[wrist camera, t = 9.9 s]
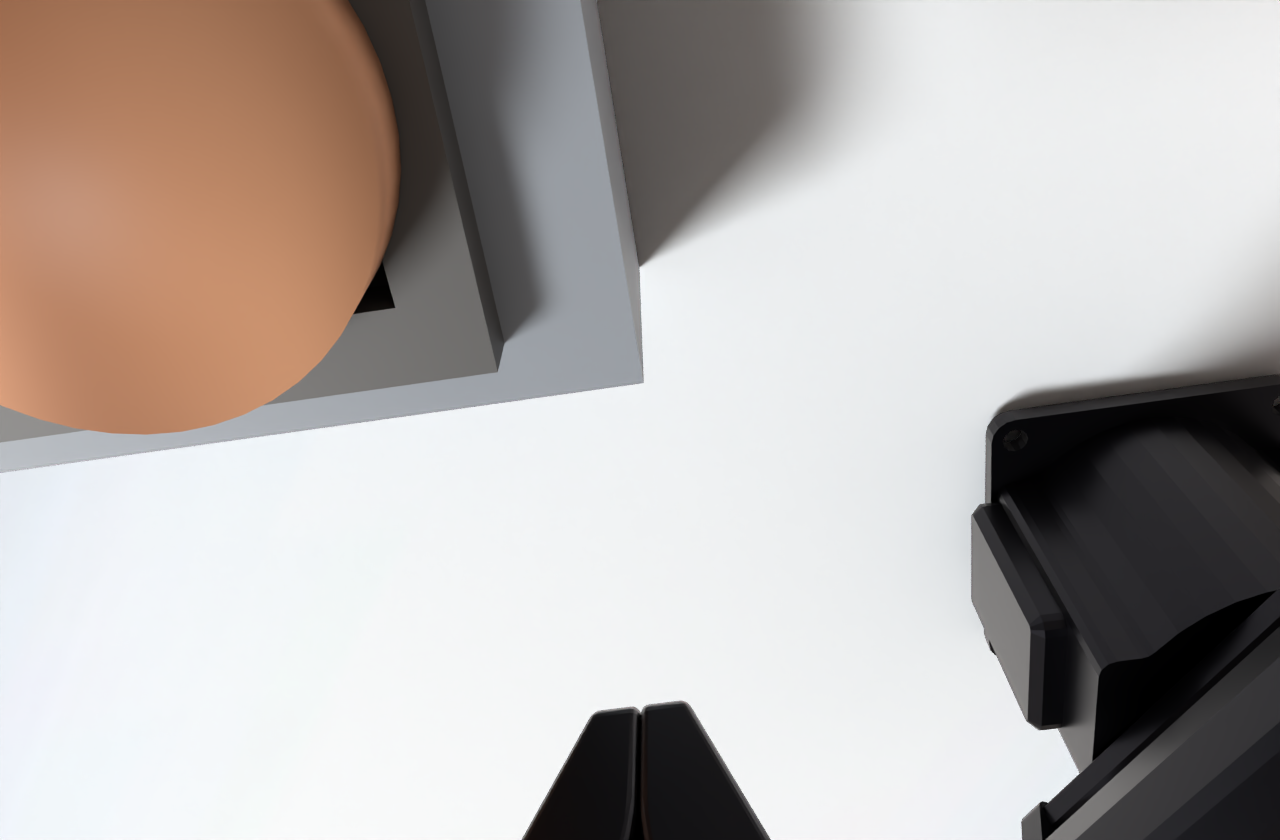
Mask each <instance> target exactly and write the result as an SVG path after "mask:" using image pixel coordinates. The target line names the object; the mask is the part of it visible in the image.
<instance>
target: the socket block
mask: <svg viewBox="0 0 1280 840" xmlns="http://www.w3.org/2000/svg"><path fill="white" fill-rule="evenodd" d="M348 1H349V3H350V4H351V6H352V8H353V9H354V11H355V12H356V14H357V16H358V17H359V19H360V21H361V22H362V24H363V26H364V28H365V30H366V32H367V34H368V36H369V39H370V41H371V43H372V45H373V47H374V50H375V52H376V54H377V56H378V58H379V60H380V63H381V66H382V69H383V72H384V75H385V78H386V81H387V84H388V88H389V91H390V94H391V97H392V101H393V106H394V111H395V117H396V122H397V127H398V132H399V143H400V160H401V178H400V192H399V204H398V209H397V213H396V218H395V223H394V227H393V232H392V236H391V238H390V241H389V244H388V246H387V249H386V252H385V254H384V257H383V260H382V262H381V265H380V267H379V268H378V270H377V272H376V274H375V276H374V277H373V279H372V281H371V283H370V285H369V286H368V288H367V290H366V292H365V294H364V295H363V297H362V299H361V301H360V302H359V304H358V306H357V308H356V310H355V311H354V313H353V315H352V317H351V318H350V320H349V322H348V324H347V326H346V327H345V329H344V331H343V333H342V334H341V336H340V337H339V339H338V340H337V341H336V342H335V344H334V345H333V346H332V348H331V349H330V350H329V351H328V353H327V354H326V355H325V357H324V358H323V359H322V360H321V361H320V362H319V363H318V364H317V365H316V366H315V367H314V368H313V369H312V370H311V371H310V372H309V373H308V374H307V375H306V376H305V377H304V378H302V379H301V380H300V381H299V382H298V383H297V384H295V385H294V386H292V387H291V388H290V389H288V390H287V391H285V392H284V393H282V394H281V395H280V396H278V397H277V398H275V399H274V400H272V401H270V402H268V403H266V404H264V405H262V406H260V407H258V408H256V409H254V410H252V411H250V412H248V413H246V414H244V415H242V416H239V417H236V418H233V419H230V420H227V421H224V422H221V423H218V424H215V425H212V426H207V427H202V428H197V429H193V430H188V431H183V432H174V433H161V434H149V435H141V434H112V433H105V432H98V431H91V430H84V429H77V428H72V427H68V426H64V425H60V424H56V423H52V422H48V421H44V420H40V419H37V418H34V417H31V416H29V415H26V414H23V413H20V412H18V411H15V410H12V409H9V408H6V407H4V406H1V405H0V473H3V472H10V471H17V470H24V469H31V468H39V467H46V466H53V465H60V464H67V463H74V462H81V461H89V460H96V459H103V458H110V457H117V456H124V455H132V454H139V453H146V452H153V451H160V450H167V449H175V448H182V447H189V446H196V445H203V444H210V443H217V442H225V441H232V440H239V439H246V438H253V437H260V436H268V435H275V434H282V433H289V432H296V431H303V430H311V429H318V428H325V427H332V426H339V425H346V424H353V423H361V422H368V421H375V420H382V419H389V418H396V417H404V416H411V415H418V414H425V413H432V412H439V411H447V410H454V409H461V408H468V407H475V406H482V405H489V404H497V403H504V402H511V401H518V400H525V399H532V398H540V397H547V396H554V395H561V394H568V393H575V392H583V391H590V390H597V389H604V388H611V387H618V386H625V385H633V384H640V383H644V380H643V353H642V326H641V299H640V272H639V263H638V257H637V251H636V244H635V238H634V232H633V225H632V219H631V213H630V206H629V200H628V194H627V188H626V181H625V175H624V169H623V162H622V156H621V150H620V143H619V137H618V131H617V125H616V118H615V112H614V106H613V99H612V93H611V87H610V80H609V74H608V68H607V61H606V55H605V49H604V43H603V36H602V30H601V24H600V17H599V11H598V5H597V0H348Z"/></svg>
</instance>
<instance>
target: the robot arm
mask: <svg viewBox="0 0 1280 840" xmlns="http://www.w3.org/2000/svg"><path fill="white" fill-rule="evenodd" d="M1279 396H1280V375H1270V376H1263V377H1255V378H1248V379H1241V380H1233V381H1226V382H1218V383H1211V384H1204V385H1196V386H1189V387H1181V388H1174V389H1167V390H1159V391H1152V392H1145V393H1137V394H1130V395H1122V396H1115V397H1108V398H1100V399H1093V400H1085V401H1078V402H1071V403H1063V404H1056V405H1048V406H1041V407H1034V408H1026V409H1019V410H1012V411H1007V412H1004V413H1001V414H999V415H998V416H996V417H995V418H994V419H993V420H992V421H991V422H990V424H989V425H988V427H987V431H986V467H985V504H980V505H979V506H978V507H977V509H976V510H975V511H974V513H973V514H972V516H971V598H972V603H973V605H974V607H975V609H976V612H977V614H978V616H979V618H980V620H981V623H982V625H983V627H984V635H985V638H986V641H987V643H988V645H989V648H990V650H991V651H992V652H993V653H994V654H995V655H996V656H997V658H998V660H999V662H1000V664H1001V667H1002V669H1003V671H1004V673H1005V675H1006V678H1007V680H1008V682H1009V684H1010V686H1011V689H1012V691H1013V693H1014V695H1015V697H1016V700H1017V702H1018V704H1019V706H1020V708H1021V711H1022V713H1023V715H1024V717H1025V719H1026V721H1027V722H1028V723H1030V724H1031V725H1032V726H1033V727H1035V728H1036V729H1037V730H1047V729H1056V728H1058V730H1059V732H1060V734H1061V736H1062V738H1063V740H1064V742H1065V744H1066V746H1067V748H1068V750H1069V752H1070V755H1071V757H1072V759H1073V761H1074V763H1075V765H1076V767H1077V769H1078V771H1079V773H1080V774H1079V775H1078V776H1077V777H1076V778H1074V779H1073V780H1072V781H1071V782H1070V783H1069V784H1068V785H1067V786H1066V787H1065V788H1064V789H1063V790H1062V791H1061V792H1059V793H1058V794H1057V795H1056V796H1055V797H1054V798H1053V799H1052V800H1051V801H1050V802H1049V803H1047V802H1043V801H1042V802H1040V803H1039V804H1038V805H1037V806H1036V807H1035V808H1034V809H1032V810H1031V811H1030V812H1029V813H1028V814H1027V815H1026V816H1025V817H1024V818H1023V819H1022V822H1021V824H1022V840H1280V404H1278V405H1275V406H1272V404H1273V402H1274V400H1275V399H1277V398H1278V397H1279ZM1014 430H1021V433H1020V435H1019V436H1018V437H1017V438H1016V439H1015V440H1012V441H1010V442H1008V441H1004V437H1005V436H1006V435H1007V434H1008V433H1009V432H1011V431H1014ZM522 840H771V839H770V838H769V836H768V834H767V833H766V831H765V829H764V828H763V826H762V824H761V823H760V821H759V819H758V818H757V816H756V814H755V813H754V811H753V809H752V808H751V806H750V804H749V803H748V801H747V799H746V798H745V796H744V794H743V793H742V791H741V789H740V788H739V786H738V784H737V783H736V781H735V779H734V778H733V776H732V774H731V773H730V771H729V769H728V768H727V766H726V764H725V763H724V761H723V759H722V758H721V756H720V754H719V753H718V751H717V749H716V748H715V746H714V744H713V743H712V741H711V739H710V738H709V736H708V734H707V733H706V731H705V729H704V728H703V726H702V724H701V723H700V721H699V719H698V718H697V716H696V714H695V713H694V711H693V709H692V708H691V706H690V705H689V704H688V703H687V702H685V701H674V702H666V703H658V704H649V705H646V706H645V707H644V708H643V709H642V712H640V711H639V710H638V709H637V708H635V707H625V708H617V709H609V710H601V711H597V712H595V713H594V714H593V715H592V716H591V717H590V719H589V720H588V722H587V724H586V726H585V728H584V729H583V731H582V733H581V735H580V736H579V738H578V740H577V742H576V744H575V745H574V747H573V749H572V751H571V753H570V754H569V756H568V758H567V760H566V761H565V763H564V765H563V767H562V769H561V770H560V772H559V774H558V776H557V778H556V779H555V781H554V783H553V785H552V786H551V788H550V790H549V792H548V794H547V795H546V797H545V799H544V801H543V802H542V804H541V806H540V808H539V810H538V811H537V813H536V815H535V817H534V819H533V820H532V822H531V824H530V826H529V827H528V829H527V831H526V833H525V835H524V836H523V838H522Z"/></svg>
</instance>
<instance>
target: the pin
mask: <svg viewBox="0 0 1280 840" xmlns="http://www.w3.org/2000/svg"><path fill="white" fill-rule="evenodd" d="M400 178H401V160H400V143H399V132H398V127H397V122H396V117H395V111H394V106H393V101H392V97H391V94H390V91H389V88H388V84H387V81H386V78H385V75H384V72H383V69H382V66H381V63H380V60H379V58H378V56H377V54H376V52H375V50H374V47H373V45H372V43H371V41H370V39H369V36H368V34H367V32H366V30H365V28H364V26H363V24H362V22H361V21H360V19H359V17H358V16H357V14H356V12H355V11H354V9H353V8H352V6H351V4H350V3H349V1H348V0H0V405H1V406H4V407H6V408H9V409H12V410H15V411H18V412H20V413H23V414H26V415H29V416H31V417H34V418H37V419H40V420H44V421H48V422H52V423H56V424H60V425H64V426H68V427H72V428H77V429H84V430H91V431H98V432H105V433H112V434H141V435H149V434H161V433H174V432H183V431H188V430H193V429H197V428H202V427H207V426H212V425H215V424H218V423H221V422H224V421H227V420H230V419H233V418H236V417H239V416H242V415H244V414H246V413H248V412H250V411H252V410H254V409H256V408H258V407H260V406H262V405H264V404H266V403H268V402H270V401H272V400H274V399H275V398H277V397H278V396H280V395H281V394H282V393H284V392H285V391H287V390H288V389H290V388H291V387H292V386H294V385H295V384H297V383H298V382H299V381H300V380H301V379H302V378H304V377H305V376H306V375H307V374H308V373H309V372H310V371H311V370H312V369H313V368H314V367H315V366H316V365H317V364H318V363H319V362H320V361H321V360H322V359H323V358H324V357H325V355H326V354H327V353H328V351H329V350H330V349H331V348H332V346H333V345H334V344H335V342H336V341H337V340H338V339H339V337H340V336H341V334H342V333H343V331H344V329H345V327H346V326H347V324H348V322H349V320H350V318H351V317H352V315H353V313H354V311H355V310H356V308H357V306H358V304H359V302H360V301H361V299H362V297H363V295H364V294H365V292H366V290H367V288H368V286H369V285H370V283H371V281H372V279H373V277H374V276H375V274H376V272H377V270H378V268H379V267H380V265H381V262H382V260H383V257H384V254H385V252H386V249H387V246H388V244H389V241H390V238H391V236H392V232H393V227H394V223H395V218H396V213H397V209H398V204H399V192H400Z"/></svg>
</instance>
